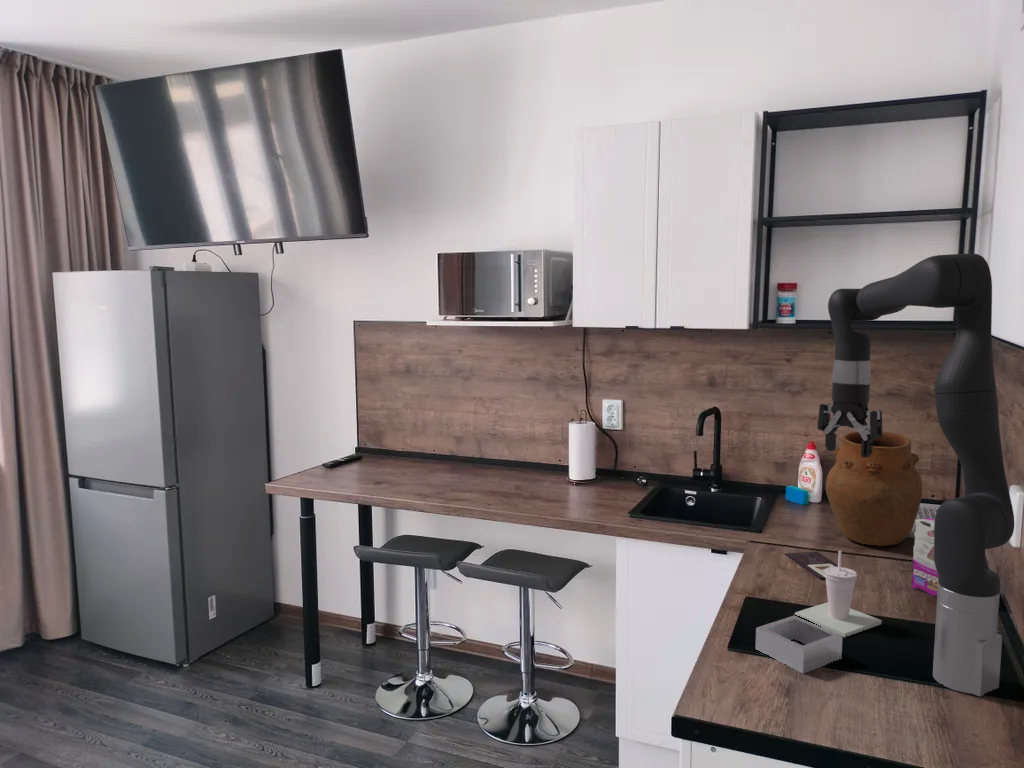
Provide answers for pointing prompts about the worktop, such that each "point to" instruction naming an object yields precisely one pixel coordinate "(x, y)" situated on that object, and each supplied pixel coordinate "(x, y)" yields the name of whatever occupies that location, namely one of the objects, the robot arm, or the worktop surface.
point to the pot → (875, 489)
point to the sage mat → (841, 627)
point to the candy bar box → (924, 558)
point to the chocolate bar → (812, 562)
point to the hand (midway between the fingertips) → (847, 453)
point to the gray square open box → (805, 658)
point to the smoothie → (839, 590)
